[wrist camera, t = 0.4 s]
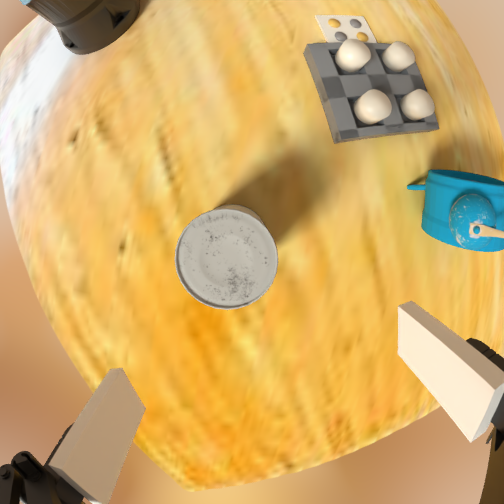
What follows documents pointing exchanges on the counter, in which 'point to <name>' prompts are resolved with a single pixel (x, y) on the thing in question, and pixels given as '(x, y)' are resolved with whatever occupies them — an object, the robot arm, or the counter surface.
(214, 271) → the speckled white tin can
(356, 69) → the button
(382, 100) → the button
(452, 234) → the alarm clock
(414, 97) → the button
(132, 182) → the counter surface
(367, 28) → the card
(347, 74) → the button board
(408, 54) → the button
